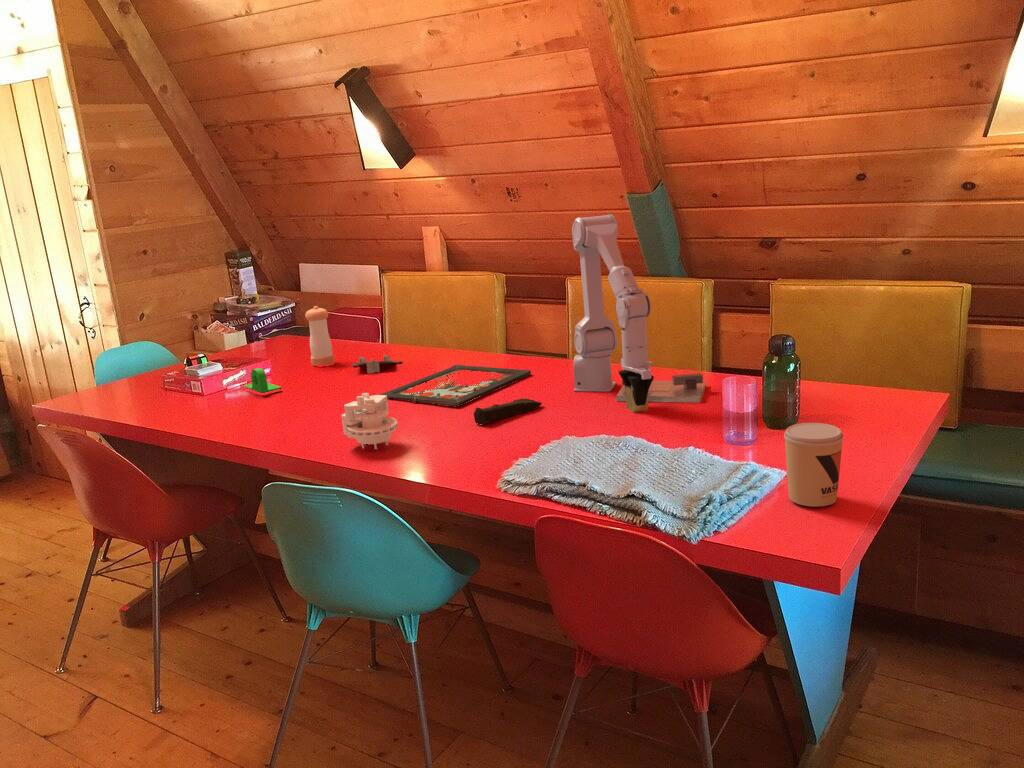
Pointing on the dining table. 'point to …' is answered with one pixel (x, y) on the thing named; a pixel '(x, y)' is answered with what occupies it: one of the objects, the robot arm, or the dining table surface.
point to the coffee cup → (813, 463)
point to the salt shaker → (319, 337)
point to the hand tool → (504, 410)
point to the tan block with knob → (631, 401)
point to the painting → (453, 393)
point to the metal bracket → (374, 363)
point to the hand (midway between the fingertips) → (636, 402)
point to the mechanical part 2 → (368, 420)
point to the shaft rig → (673, 389)
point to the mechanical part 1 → (260, 382)
